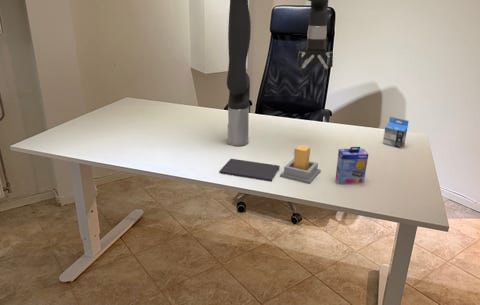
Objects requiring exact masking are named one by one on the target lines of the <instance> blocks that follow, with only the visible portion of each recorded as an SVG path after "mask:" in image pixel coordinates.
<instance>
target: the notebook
mask: <svg viewBox="0 0 480 305" xmlns="http://www.w3.org/2000/svg"><path fill="white" fill-rule="evenodd" d="M280 168H281V167H280V165H277V164H269V163H264V162H259V161H257V162H256V161H250V160H242V159H237V158H229V160H228V161H227V162H226V163H225V165H224V166H222V168H221V169H220V170H219V171H218V172H219V174H220V173H221V174H220V175H226V174H227V176H232V175H233V176H235V177H238V178H239V177H240V178H248V179H253V180H259V181H265V182H273V180H274V179H275V177H276V175H277V173H278V171H280ZM233 176H232V177H233Z"/></svg>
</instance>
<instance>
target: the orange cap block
mask: <svg viewBox="0 0 480 305" xmlns="http://www.w3.org/2000/svg"><path fill="white" fill-rule="evenodd" d="M310 155H311V146H307V145H302V144H299V145H298V146H295V148H294V152H293V159H294V168H297V169H302V170H306V171H307V170H308V169H309V161H310V159H311V158H310V157H311V156H310Z"/></svg>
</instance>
